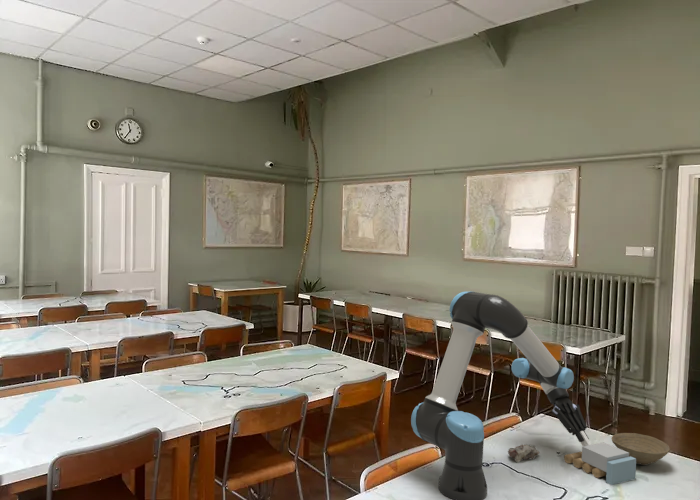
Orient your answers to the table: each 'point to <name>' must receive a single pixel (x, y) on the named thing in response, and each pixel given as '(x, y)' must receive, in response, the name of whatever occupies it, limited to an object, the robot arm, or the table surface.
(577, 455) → the roller bed
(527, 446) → the mineral rock
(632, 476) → the fence
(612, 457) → the slab
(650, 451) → the bowl
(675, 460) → the table surface
